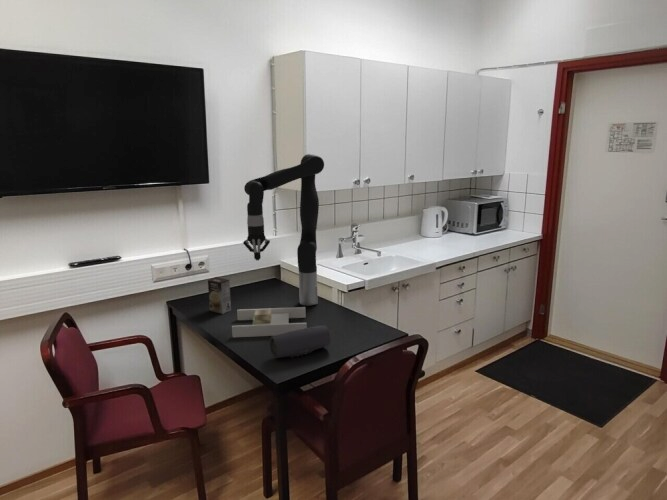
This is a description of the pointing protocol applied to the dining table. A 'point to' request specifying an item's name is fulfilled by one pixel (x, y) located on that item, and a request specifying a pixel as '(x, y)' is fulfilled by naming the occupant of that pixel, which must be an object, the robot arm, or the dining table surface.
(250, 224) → the robot arm
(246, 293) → the dining table surface
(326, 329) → the bluetooth speaker
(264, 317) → the birch block
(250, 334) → the track
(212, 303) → the coffee box
